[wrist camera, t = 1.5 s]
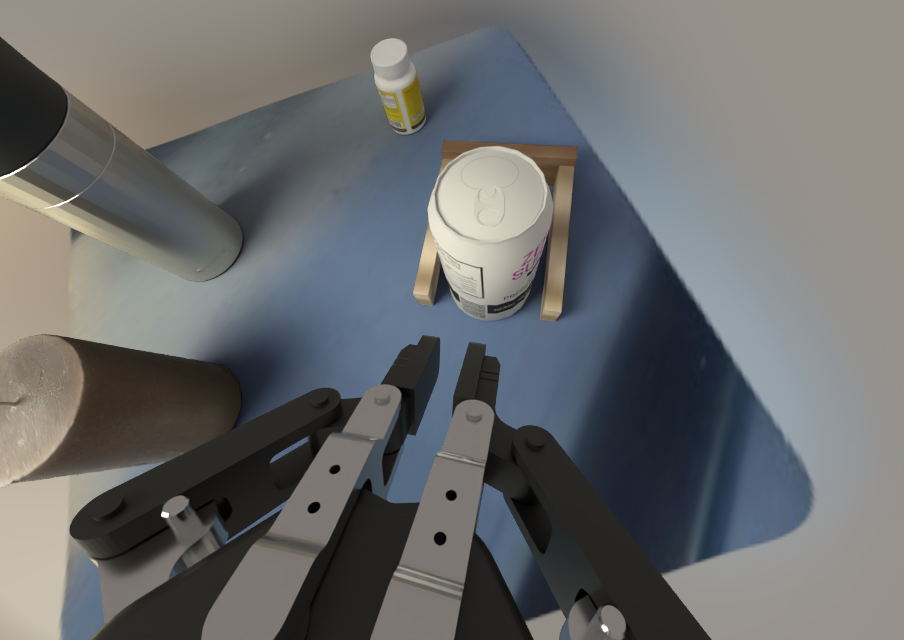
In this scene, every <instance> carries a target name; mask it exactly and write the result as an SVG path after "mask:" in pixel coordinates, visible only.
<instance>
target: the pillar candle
mask: <svg viewBox="0 0 904 640" xmlns="http://www.w3.org/2000/svg"><path fill="white" fill-rule="evenodd" d="M240 407H241V392H240V387H239V384H238V381H237V380H236V378H235V376H234V375H233V374H232V372H230V371H229V369H227V368H226V367H224V366H223V365H215V364H212V363H208V362H204V361H199V360H193V359H186V358H181V357H176V356H169V355H164V354H157V353H152V352H146V351H140V350H134V349H129V348H123V347H118V346H113V345H107V344H102V343H96V342H91V341H85V340H80V339H74V338H69V337H62V336H57V335H47V334H44V335H43V334H42V335H35V336H30V337H28V338H24V339H22V340H19V341H17V342H16V343H13V344H12V345H10V346H8V347H7V348H5V349H4V350H2V351H1V352H0V487H4V486H8V485H10V484H12V483H18V482H26V481H35V480H41V479H48V478H53V477H59V476H67V475H79V474H83V473H90V472H99V471H104V470H112V469H120V468H124V467H135V466H141V465H147V464H154V463H160V462H168V461H170V460H172V459H174V458H176V457H178V456H180V455H182V454H184V453H186V452H188V451H190V450H192V449H194V448H196V447H198V446H200V445H202V444H204V443H206V442H208V441H210V440H213V439H215V438H217V437H219V436H221V435H223V434H225V433H227V432H229V431H231V430H232V428H233V426H234V424H235V422H236V419H237V417H238V414H239V411H240Z"/></svg>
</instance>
